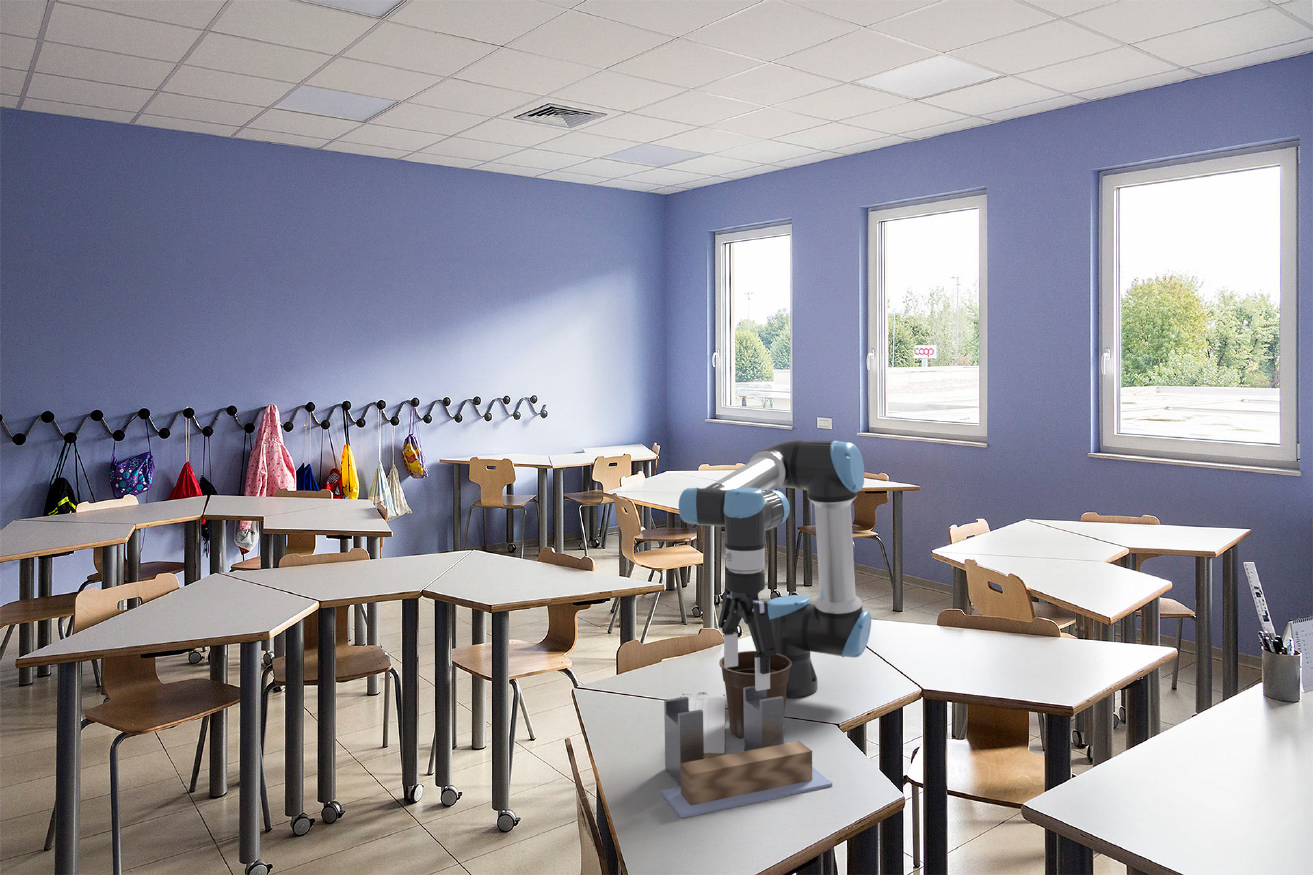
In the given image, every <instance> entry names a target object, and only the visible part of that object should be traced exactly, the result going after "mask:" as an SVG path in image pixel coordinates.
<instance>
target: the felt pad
mask: <svg viewBox="0 0 1313 875" xmlns="http://www.w3.org/2000/svg"><path fill="white" fill-rule="evenodd" d="M829 786H830V787H833V782H832V781H830V779H828V778H827V777H826V776H824V775H823V774H822V773H821V772H820V771H818V770H817V769H815V767H813V766H812V780H811V781H806V782H802V783H797V784H792V785H787V786H782V787H778V788H773V789H768V790H763V791H758V792H753V793H749V794H744V795H739V796H734V797H729V798H725V799H720V800H715V801H710V802H705V803H701V804H696V805H690V804H689V803H688V801H687V800H686V799H685V798H684V797H683V796H682V794H681V786H679V787H674V788H669V789H665V790H661V795H662V797H664V798H665V800H666V801H667V802H668V804H670V806H671V807H672V809H673V810H674V811H675V812H676V814H677V815H678V816H679V817H680V819H684V818H688V817H693V816H698V815H703V814H707V813H712V812H717V811H721V810H725V809H731V808H735V807H740V806H745V805H750V804H754V803H758V802H763V801H768V800H774V799H777V798H778V799H779V798H781V797H782V798H783V797H788V796H792V795H791V794H793V795H797V794H801V792H802V793H807V792H811V791H810V790H812V791H815V790H820V788H821V789H825V788H829ZM806 791H807V792H806Z"/></svg>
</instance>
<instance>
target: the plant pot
mask: <svg viewBox="0 0 1313 875" xmlns="http://www.w3.org/2000/svg"><path fill="white" fill-rule="evenodd" d="M756 653H757V652H756V650H745V651H738V666H734V667H728V668H726V667H724V656H723V657H722V658H720V659H719V661H718V662H719V667H720V668H721V673H722V674H721V675H722V680H723V682H724V688H725V697H726V703H727V704H726V705H727V706H726V707H727V712H728V713H727V714H728V715H727V716H728V723H729V732H730V733H731V734H732V735H733V736H734V737H736V738H743V739H744V698H743V687H750V686H755V657H754V655H755V654H756ZM791 665H792V662H791V660H790V659H789V658H787V657H786V656H783V655H781V654H776V655H772V656H770V689H767V698H773V697H779V696H782V697H783V698H784V716H785V712H786V700H787V697H786V688H787V682H788V680H789V669H790V667H791Z"/></svg>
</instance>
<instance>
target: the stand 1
mask: <svg viewBox="0 0 1313 875" xmlns="http://www.w3.org/2000/svg"><path fill="white" fill-rule="evenodd" d="M680 697H681V698H680ZM680 697H676V698H669V699H664V701H663V706H664V708H663V709H664V710H663V711H664V712H663V714H664V715H663V716H664V749H665V750H664V757H665V758H664V759H665V760H664V762H665V763H664V764H665V765H664V766H665V767H664V768H665V770H666V771H667V773H669V775H670V776H671V778H673V779H674V781H675V782H676V783H677V784H678V785H679V787H681V772H680V763H685V762H691V761H696V760H701V759H705V757H704V737H703V711H702V710H695V711H689V698H690V697H688V696H680Z"/></svg>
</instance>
